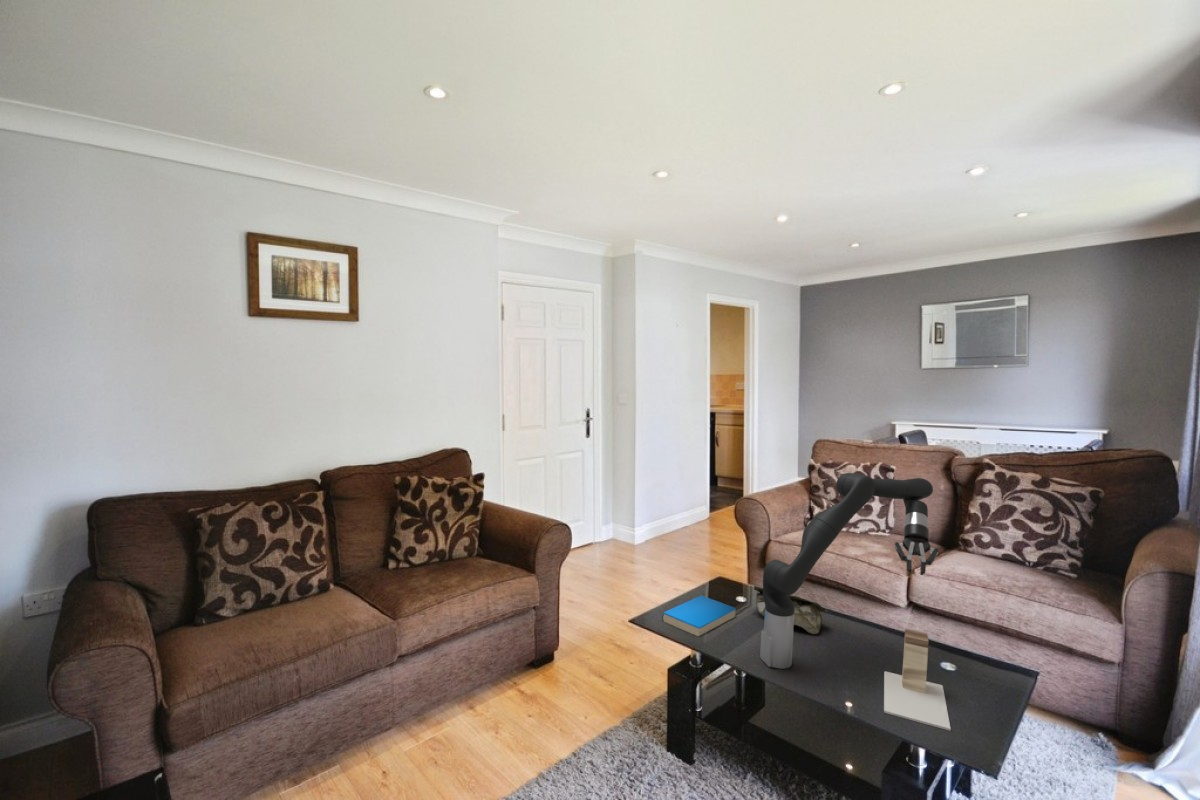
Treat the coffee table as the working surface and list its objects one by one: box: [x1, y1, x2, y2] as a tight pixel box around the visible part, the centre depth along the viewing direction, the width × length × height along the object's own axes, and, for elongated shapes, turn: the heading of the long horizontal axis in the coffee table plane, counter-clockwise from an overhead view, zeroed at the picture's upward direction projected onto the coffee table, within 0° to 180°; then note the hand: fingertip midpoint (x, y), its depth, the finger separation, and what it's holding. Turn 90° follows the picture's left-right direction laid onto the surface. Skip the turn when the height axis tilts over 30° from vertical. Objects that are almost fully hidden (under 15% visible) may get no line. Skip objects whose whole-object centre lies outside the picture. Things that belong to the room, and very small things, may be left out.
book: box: [661, 595, 737, 637], centre depth 213 cm, size 17×4×25 cm
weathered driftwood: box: [753, 585, 829, 635], centre depth 211 cm, size 28×13×15 cm
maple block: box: [901, 628, 929, 693], centre depth 169 cm, size 6×6×16 cm
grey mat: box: [883, 671, 952, 732], centre depth 163 cm, size 24×16×1 cm, turn 153°
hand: (916, 572), depth 185 cm, fingers open, 3 cm apart
